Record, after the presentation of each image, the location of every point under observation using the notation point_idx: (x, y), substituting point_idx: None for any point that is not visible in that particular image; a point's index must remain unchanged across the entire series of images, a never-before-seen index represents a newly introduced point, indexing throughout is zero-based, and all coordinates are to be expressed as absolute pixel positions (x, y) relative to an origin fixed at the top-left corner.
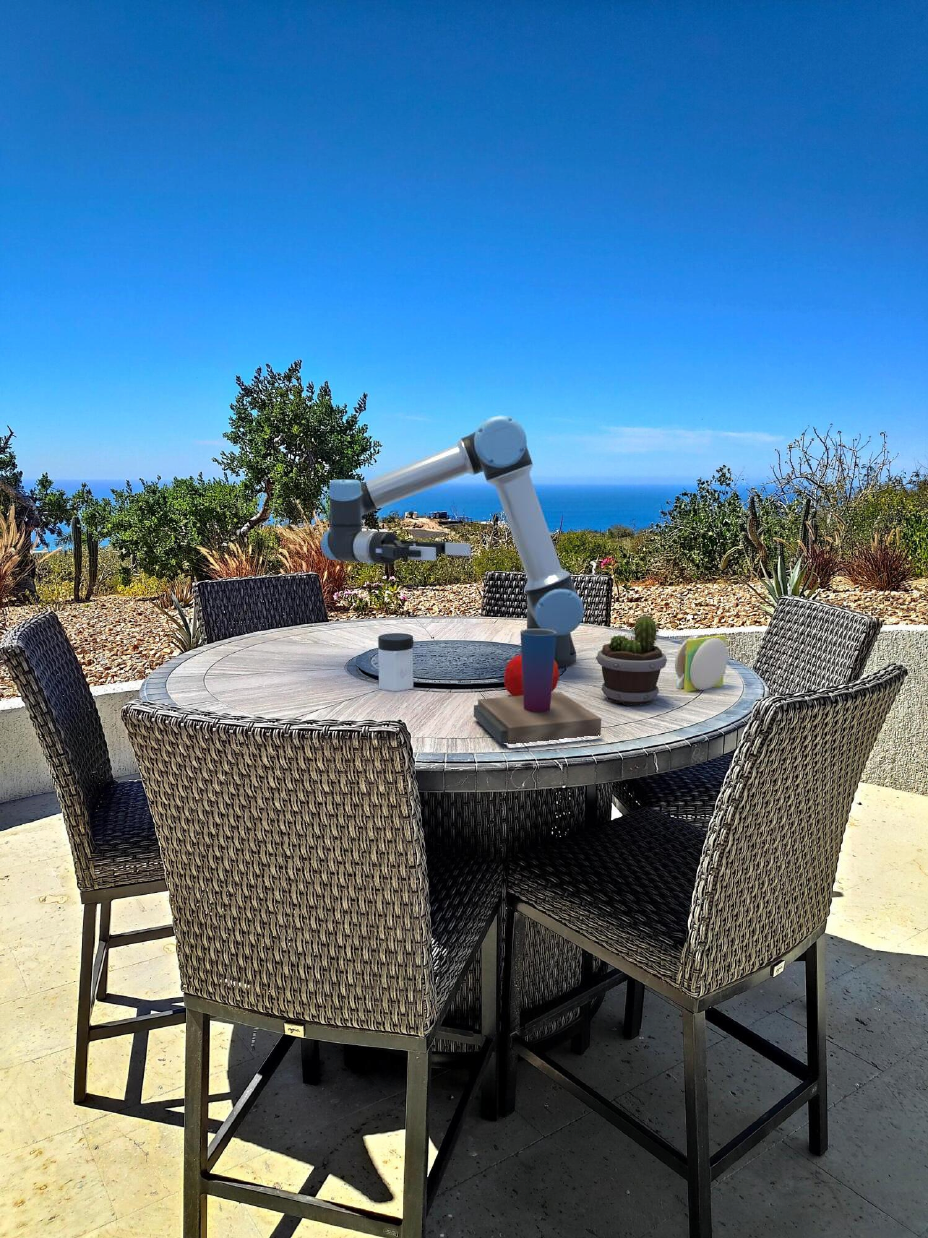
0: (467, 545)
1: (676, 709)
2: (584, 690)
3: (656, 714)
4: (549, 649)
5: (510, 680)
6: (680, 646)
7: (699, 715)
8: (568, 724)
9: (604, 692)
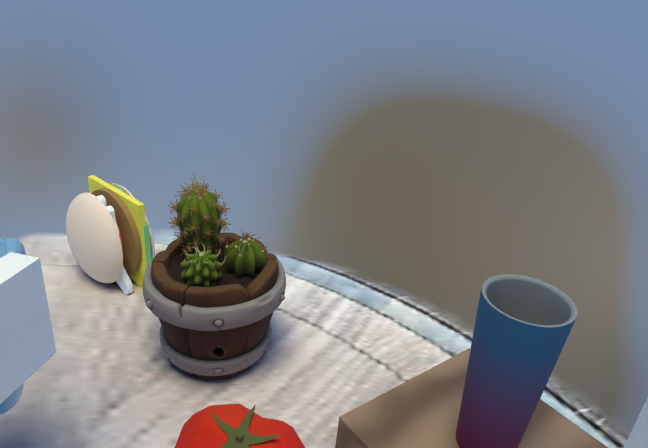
0: (27, 281)
1: None
2: (153, 421)
3: (295, 319)
4: (531, 310)
5: None
6: (107, 226)
7: None
8: None
9: (235, 369)
